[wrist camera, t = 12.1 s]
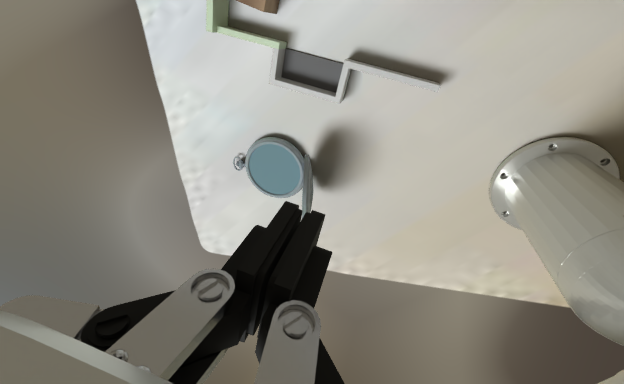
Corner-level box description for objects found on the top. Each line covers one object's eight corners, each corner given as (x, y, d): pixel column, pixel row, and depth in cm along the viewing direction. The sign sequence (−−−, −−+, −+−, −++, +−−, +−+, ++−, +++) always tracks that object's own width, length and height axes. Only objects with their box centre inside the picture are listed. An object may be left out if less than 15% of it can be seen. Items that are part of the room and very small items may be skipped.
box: (511, -89, 26) (525, -105, 23) (421, 122, 36) (422, 130, 33) (228, -141, 29) (208, -161, 26) (220, 65, 39) (205, 67, 36)
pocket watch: (304, 244, 36) (201, 223, 39) (324, 201, 45) (239, 187, 49) (306, 172, 31) (187, 155, 35) (328, 141, 40) (232, 130, 44)
